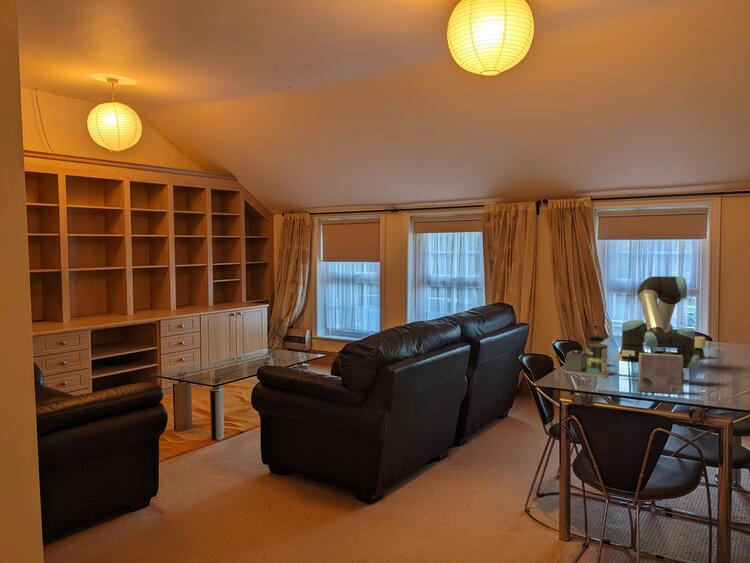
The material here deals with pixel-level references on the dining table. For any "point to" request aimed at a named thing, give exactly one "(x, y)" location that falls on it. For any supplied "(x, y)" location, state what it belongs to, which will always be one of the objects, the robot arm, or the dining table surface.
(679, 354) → the robot arm
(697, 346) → the character mug
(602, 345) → the coffee can
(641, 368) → the cake pan box
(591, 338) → the french press
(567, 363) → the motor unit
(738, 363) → the dining table surface
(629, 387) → the dining table surface
